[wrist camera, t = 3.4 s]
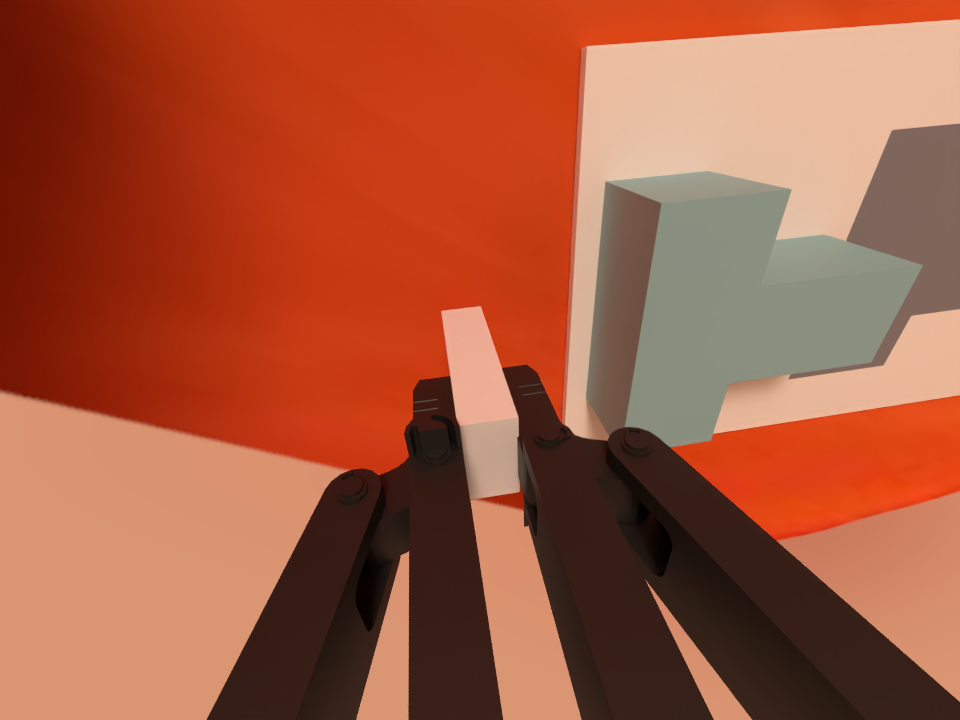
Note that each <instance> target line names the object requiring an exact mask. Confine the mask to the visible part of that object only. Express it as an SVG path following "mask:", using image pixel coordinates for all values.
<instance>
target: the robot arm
mask: <svg viewBox="0 0 960 720" xmlns="http://www.w3.org/2000/svg"><path fill="white" fill-rule="evenodd" d="M441 312H442V320H443V327H444V335H445V343H446V351H447V358H448V366H449V373H450V376H448V377H440V378H433V379H425V380H419V382H418V384H417V385H416V387H415V388H414V390H413V420H412V421H411V422H410V423H409V424H408V425H407V426H406V429H405V433H404V435H405V440H406V444H407V449H408V453H409V457H408V458H407V460H406V461H405V462H404V463H402V464H401V465H400V466H399V467H397V468H395V469H393V470H391V471H389V472H386V473H384V474H381V475H379V476H378V475H377V474H376V473H374V472H373V471H372V470H367V469H354V470H350V471H347V472H345V473H343V474H340V475H339V476H338V477H337V478H335V479H334V480H333V481H331V483H330V484H329V485H328V487H327V488H326V489H325V491H324V493H323V495H322V497H321V499H320V501H319V503H318V505H317V506H316V508H315V510H314V512H313V514H312V516H311V518H310V520H309V522H308V524H307V526H306V528H305V530H304V532H303V534H302V536H301V538H300V539H299V541H298V543H297V545H296V547H295V549H294V551H293V553H292V555H291V557H290V559H289V561H288V563H287V565H286V567H285V569H284V571H283V572H282V574H281V576H280V579H279V580H278V582H277V584H276V586H275V588H274V590H273V592H272V594H271V596H270V598H269V600H268V602H267V604H266V606H265V607H264V609H263V611H262V613H261V615H260V617H259V619H258V621H257V623H256V625H255V627H254V629H253V631H252V633H251V635H250V637H249V638H248V640H247V642H246V645H245V646H244V648H243V650H242V652H241V654H240V656H239V658H238V660H237V662H236V664H235V666H234V668H233V670H232V671H231V674H230V675H229V677H228V679H227V681H226V683H225V685H224V687H223V689H222V691H221V693H220V695H219V697H218V699H217V701H216V703H215V705H214V707H213V709H212V711H211V712H210V714H209V716H208V718H207V720H356V718H357V714H358V710H359V707H360V703H361V699H362V696H363V692H364V688H365V685H366V681H367V678H368V674H369V670H370V666H371V663H372V660H373V656H374V652H375V648H376V645H377V641H378V638H379V634H380V630H381V626H382V623H383V619H384V616H385V612H386V609H387V605H388V601H389V598H390V594H391V590H392V587H393V583H394V580H395V575H396V572H397V569H398V565H399V561H400V555H402V554H404V553H406V552H408V551H409V720H503V716H502V709H501V703H500V696H499V689H498V683H497V677H496V669H495V662H494V656H493V649H492V643H491V636H490V629H489V623H488V616H487V609H486V602H485V597H484V589H483V582H482V577H481V570H480V563H479V556H478V549H477V543H476V535H475V529H474V522H473V517H472V509H471V502H470V500H473V499H479V498H485V497H492V496H498V495H504V494H510V493H516V492H520V484H521V487H522V491H523V494H524V526H528V525H529V529H530V532H531V536H532V539H533V543H534V547H535V550H536V554H537V558H538V562H539V565H540V569H541V573H542V576H543V580H544V584H545V587H546V591H547V594H548V598H549V602H550V605H551V609H552V613H553V616H554V620H555V624H556V627H557V631H558V634H559V638H560V642H561V646H562V649H563V653H564V657H565V660H566V664H567V667H568V671H569V675H570V678H571V682H572V686H573V690H574V693H575V697H576V700H577V704H578V708H579V711H580V715H581V719H582V720H714V719H713V717H712V715H711V713H710V711H709V709H708V707H707V705H706V703H705V701H704V699H703V697H702V695H701V693H700V691H699V689H698V687H697V685H696V683H695V681H694V679H693V677H692V674H691V672H690V670H689V668H688V666H687V664H686V662H685V660H684V658H683V656H682V654H681V652H680V650H679V648H678V646H677V644H676V642H675V640H674V638H673V636H672V634H671V631H670V630H669V627H668V625H667V623H666V621H665V619H664V617H663V615H662V613H661V611H660V609H659V607H658V605H657V603H656V601H655V599H654V597H653V595H652V593H651V591H650V588H649V587H648V584H647V582H648V583H649V585H650V586H651V587H652V588H653V590H654V591H655V593H656V594H657V595H658V596H659V598H660V599H661V600H662V602H663V603H664V604H665V606H666V607H667V608H668V609H669V611H670V612H671V614H672V615H673V616H674V617H675V619H676V620H677V621H678V623H679V624H680V625H681V626H682V628H683V629H684V631H685V632H686V633H687V635H688V636H689V637H690V638H691V640H692V641H693V642H694V644H695V645H696V646H697V648H698V649H699V650H700V652H701V653H702V654H703V656H704V657H705V658H706V660H707V661H708V662H709V663H710V665H711V666H712V667H713V669H714V670H715V671H716V673H717V674H718V675H719V676H720V678H721V679H722V681H723V682H724V683H725V684H726V686H727V687H728V688H729V689H730V691H731V692H732V694H733V695H734V696H735V698H736V699H737V700H738V701H739V703H740V704H741V705H742V707H743V708H744V709H745V711H746V712H747V713H748V715H749V716H750V717H751V719H752V720H960V702H959V701H958V700H957V699H956V698H955V697H953V696H952V695H951V694H950V693H949V692H948V691H947V690H945V689H944V688H943V687H942V686H941V685H940V684H939V683H937V682H936V681H935V680H934V679H933V678H932V677H931V676H929V675H928V674H927V673H926V672H925V671H924V670H922V669H921V668H920V667H919V666H918V665H917V664H916V663H915V662H914V661H912V660H911V659H910V658H909V657H908V656H907V655H905V654H904V653H903V652H902V651H901V650H900V649H899V648H898V647H896V646H895V645H894V644H893V643H892V642H890V641H889V639H887V638H886V637H885V636H884V635H883V634H882V633H880V632H879V631H878V630H877V629H876V628H875V627H874V626H873V625H871V624H870V623H869V622H868V621H867V620H866V619H865V618H863V617H862V616H861V615H860V614H859V613H858V612H857V611H856V610H854V609H853V608H852V607H851V606H850V605H849V604H848V603H846V602H845V601H844V600H843V599H842V598H841V597H839V596H838V595H837V594H836V593H835V592H834V591H833V590H832V589H830V588H829V587H828V586H827V585H826V584H825V583H824V582H822V581H821V580H820V579H819V578H818V577H817V576H816V575H815V574H813V573H812V572H811V571H810V570H809V569H808V568H807V567H805V566H804V565H803V564H802V563H801V562H800V561H799V560H797V559H796V558H795V557H794V556H793V555H792V554H790V553H789V552H788V551H787V550H786V549H785V548H783V546H781V545H780V544H779V543H778V542H777V541H776V540H775V539H774V538H772V537H771V536H770V535H769V534H768V533H767V532H766V531H764V530H763V529H762V528H761V527H760V526H759V525H758V524H756V523H755V522H754V521H753V520H752V519H751V518H750V517H748V516H747V515H746V514H745V513H744V512H743V511H742V510H741V509H739V508H738V507H737V506H736V505H735V504H734V503H733V502H731V501H730V500H729V499H728V498H727V497H726V496H725V495H723V494H722V493H721V492H720V491H719V490H718V489H717V488H715V487H714V486H713V485H712V484H711V483H710V482H709V481H707V480H706V479H705V478H704V477H703V476H702V475H701V474H700V473H698V472H697V471H696V470H695V469H694V468H693V467H692V466H690V465H689V464H688V463H687V462H686V461H685V460H684V459H682V458H681V457H680V456H679V455H678V454H677V453H676V452H674V451H673V450H672V449H671V448H670V447H669V446H668V445H666V444H665V443H664V442H663V441H662V440H661V439H660V438H659V437H657V436H656V435H654V434H653V433H651V432H649V431H647V430H644V429H641V428H636V427H624V428H619V429H617V430H615V431H614V432H612V433H611V435H610V436H609V438H608V441H607V440H596V439H588V438H582V437H579V436H577V435H574V433H573V432H572V431H571V430H570V428H569V427H567V426H566V425H564V424H562V423H560V421H559V418H558V416H557V414H556V412H555V410H554V408H553V406H552V404H551V401H550V399H549V397H548V395H547V393H546V391H545V389H544V386H543V384H542V382H541V380H540V378H539V376H538V374H537V372H536V371H534V370H533V369H532V368H530V367H529V366H528V365H521V366H514V367H506V368H501V365H500V362H499V359H498V356H497V353H496V350H495V347H494V344H493V341H492V338H491V335H490V332H489V329H488V326H487V324H486V321H485V318H484V315H483V312H482V309H481V306H478V307H470V308H462V309H454V310H445V311H441ZM645 579H646V580H645ZM646 581H647V582H646Z"/></svg>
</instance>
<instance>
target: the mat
mask: <svg viewBox="0 0 960 720" xmlns="http://www.w3.org/2000/svg"><path fill="white" fill-rule="evenodd" d="M703 171H710V172H715V173H719V174H724V175H729V176H733V177H738V178H742V179H747V180H751V181H756V182H760V183H765V184H770V185H774V186H779V187H783V188H788V189H792V190H791V193H790V197H789V200H788V203H787V206H786V209H785V212H784V215H783V218H782V221H781V224H780V228H779V231H778V234H777V237H776V240H781V239H789V238H798V237H806V236H815V235H823V234H824V235H828V236H831V237H834V238H837V239H841V240H844V241H847V242H850V243H853V244H857V245H860V246H863V247H866V248H869V249H873V250H876V251H879V252H882V253H885V254H889V255H892V256H895V257H898V258H902V259H905V260H908V261H911V262H914V263H918V264H921V265H923V267H922V268H921V270H920V272H919V274H918V276H917V278H916V280H915V281H914V283H913V285H912V287H911V289H910V291H909V293H908V295H907V296H906V298H905V300H904V302H903V304H902V306H901V308H900V309H899V311H898V313H897V315H896V317H895V319H894V321H893V323H892V324H891V326H890V328H889V330H888V332H887V334H886V336H885V337H884V339H883V341H882V343H881V345H880V347H879V349H878V351H877V352H876V354H875V356H874V358H873V360H872V362H871V363H865V364H858V365H851V366H845V367H838V368H831V369H824V370H817V371H810V372H804V373H797V374H790V375H783V376H776V377H770V378H763V379H756V380H749V381H742V382H735V383H729V386H728V389H727V392H726V395H725V398H724V401H723V404H722V407H721V411H720V414H719V417H718V420H717V423H716V426H715V429H714V432H713V434H715V433H721V432H728V431H734V430H740V429H747V428H753V427H759V426H766V425H772V424H779V423H785V422H791V421H798V420H804V419H810V418H817V417H823V416H829V415H836V414H842V413H849V412H855V411H861V410H868V409H874V408H880V407H887V406H893V405H900V404H906V403H912V402H919V401H925V400H931V399H938V398H944V397H951V396H957V395H960V20H946V21H932V22H918V23H904V24H890V25H876V26H862V27H848V28H835V29H821V30H807V31H793V32H779V33H765V34H751V35H737V36H723V37H709V38H696V39H682V40H668V41H654V42H640V43H626V44H612V45H598V46H586V47H584V48H581V65H580V84H579V103H578V122H577V142H576V161H575V180H574V199H573V218H572V237H571V256H570V275H569V294H568V314H567V333H566V352H565V371H564V390H563V409H562V424H564V425H566V426H567V427H569V428H570V430H571V431H572V432H573V433H574V435H577V436H579V437H582V438H588V439H596V440H607V441H608V438H609V435H608V433H607V432H606V430H605V428H604V427H603V425H602V423H601V422H600V420H599V418H598V417H597V415H596V413H595V412H594V410H593V408H592V407H591V405H590V403H589V402H588V400H587V398H586V390H587V379H588V368H589V357H590V346H591V335H592V324H593V313H594V302H595V291H596V280H597V268H598V257H599V246H600V235H601V224H602V213H603V202H604V191H605V181H614V180H624V179H634V178H644V177H654V176H664V175H673V174H683V173H693V172H703Z"/></svg>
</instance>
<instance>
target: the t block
mask: <svg viewBox="0 0 960 720" xmlns="http://www.w3.org/2000/svg"><path fill="white" fill-rule="evenodd" d="M791 190H792V189H788V188H783V187H779V186H774V185H770V184H765V183H760V182H756V181H751V180H747V179H742V178H738V177H733V176H729V175H724V174H719V173H715V172H710V171H703V172H693V173H683V174H673V175H664V176H654V177H644V178H634V179H624V180H614V181H605V191H604V202H603V213H602V224H601V235H600V246H599V257H598V268H597V280H596V291H595V302H594V313H593V324H592V335H591V346H590V357H589V368H588V379H587V390H586V398H587V400H588V402H589V403H590V405H591V407H592V408H593V410H594V412H595V413H596V415H597V417H598V418H599V420H600V422H601V423H602V425H603V427H604V428H605V430H606V432H607V433H608V435H609V436H610V435H611V433H612V432H614V431H615V430H617V429H619V428H624V427H636V428H641V429H644V430H647V431H649V432H651V433H653V434H654V435H656V436H657V437H659V438H660V439H661V440H662V441H663V442H664V443H665V444H666V445H668V446H669V447H674V446H680V445H687V444H693V443H699V442H705V441H711V438H712V435H713V432H714V429H715V426H716V423H717V420H718V417H719V414H720V411H721V407H722V404H723V401H724V398H725V395H726V392H727V389H728V386H729V383H735V382H742V381H749V380H756V379H763V378H770V377H776V376H783V375H790V374H797V373H804V372H810V371H817V370H824V369H831V368H838V367H845V366H851V365H858V364H865V363H871V362H872V360H873V358H874V356H875V354H876V352H877V351H878V349H879V347H880V345H881V343H882V341H883V339H884V337H885V336H886V334H887V332H888V330H889V328H890V326H891V324H892V323H893V321H894V319H895V317H896V315H897V313H898V311H899V309H900V308H901V306H902V304H903V302H904V300H905V298H906V296H907V295H908V293H909V291H910V289H911V287H912V285H913V283H914V281H915V280H916V278H917V276H918V274H919V272H920V270H921V268H922V267H923V265H921V264H918V263H914V262H911V261H908V260H905V259H902V258H898V257H895V256H892V255H889V254H885V253H882V252H879V251H876V250H873V249H869V248H866V247H863V246H860V245H857V244H853V243H850V242H847V241H844V240H841V239H837V238H834V237H831V236H828V235H824V234H823V235H815V236H806V237H798V238H789V239H781V240H776V237H777V234H778V231H779V228H780V224H781V221H782V218H783V215H784V212H785V209H786V206H787V203H788V200H789V197H790V193H791Z"/></svg>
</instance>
